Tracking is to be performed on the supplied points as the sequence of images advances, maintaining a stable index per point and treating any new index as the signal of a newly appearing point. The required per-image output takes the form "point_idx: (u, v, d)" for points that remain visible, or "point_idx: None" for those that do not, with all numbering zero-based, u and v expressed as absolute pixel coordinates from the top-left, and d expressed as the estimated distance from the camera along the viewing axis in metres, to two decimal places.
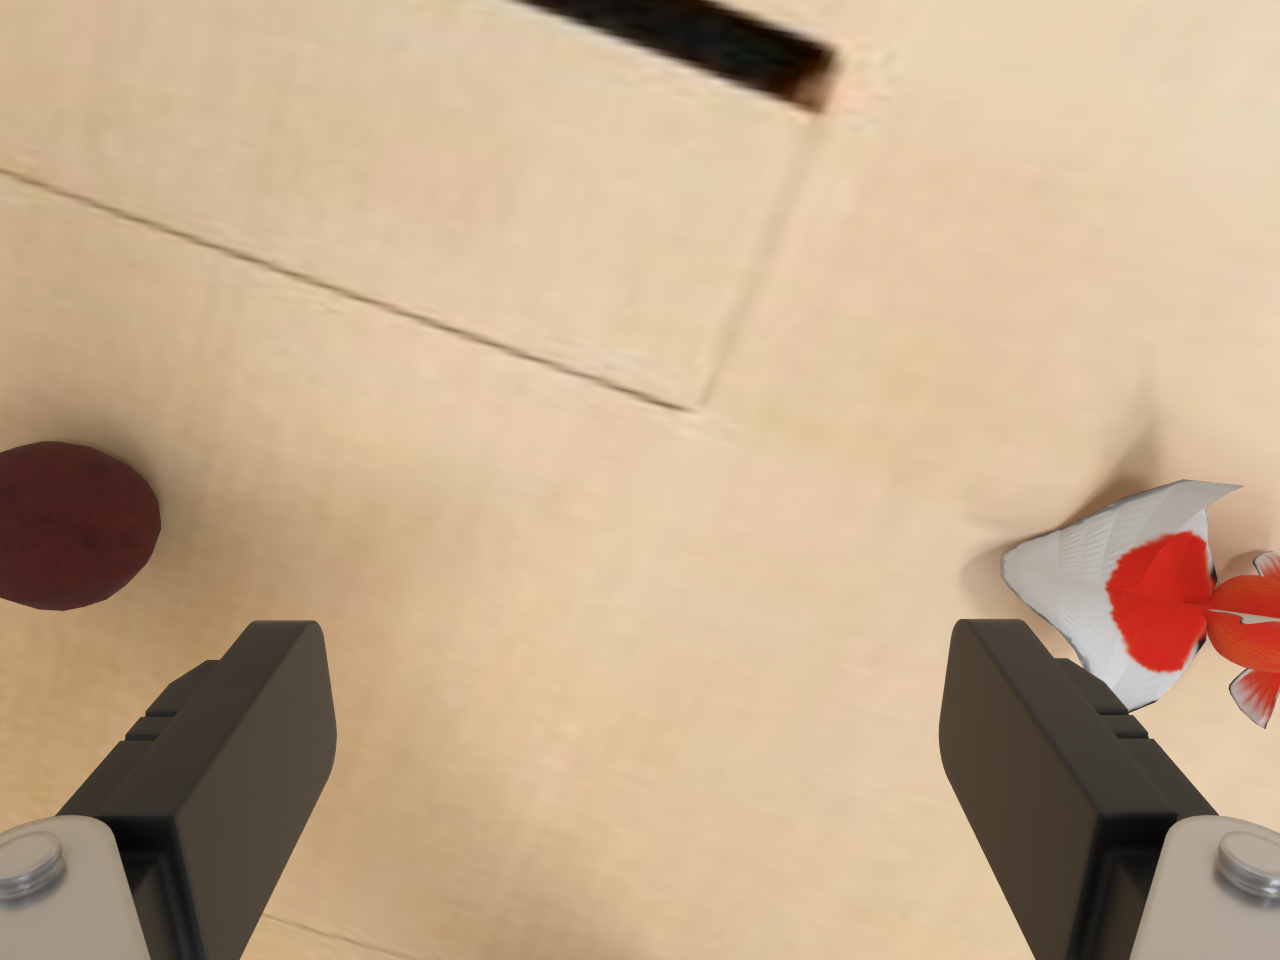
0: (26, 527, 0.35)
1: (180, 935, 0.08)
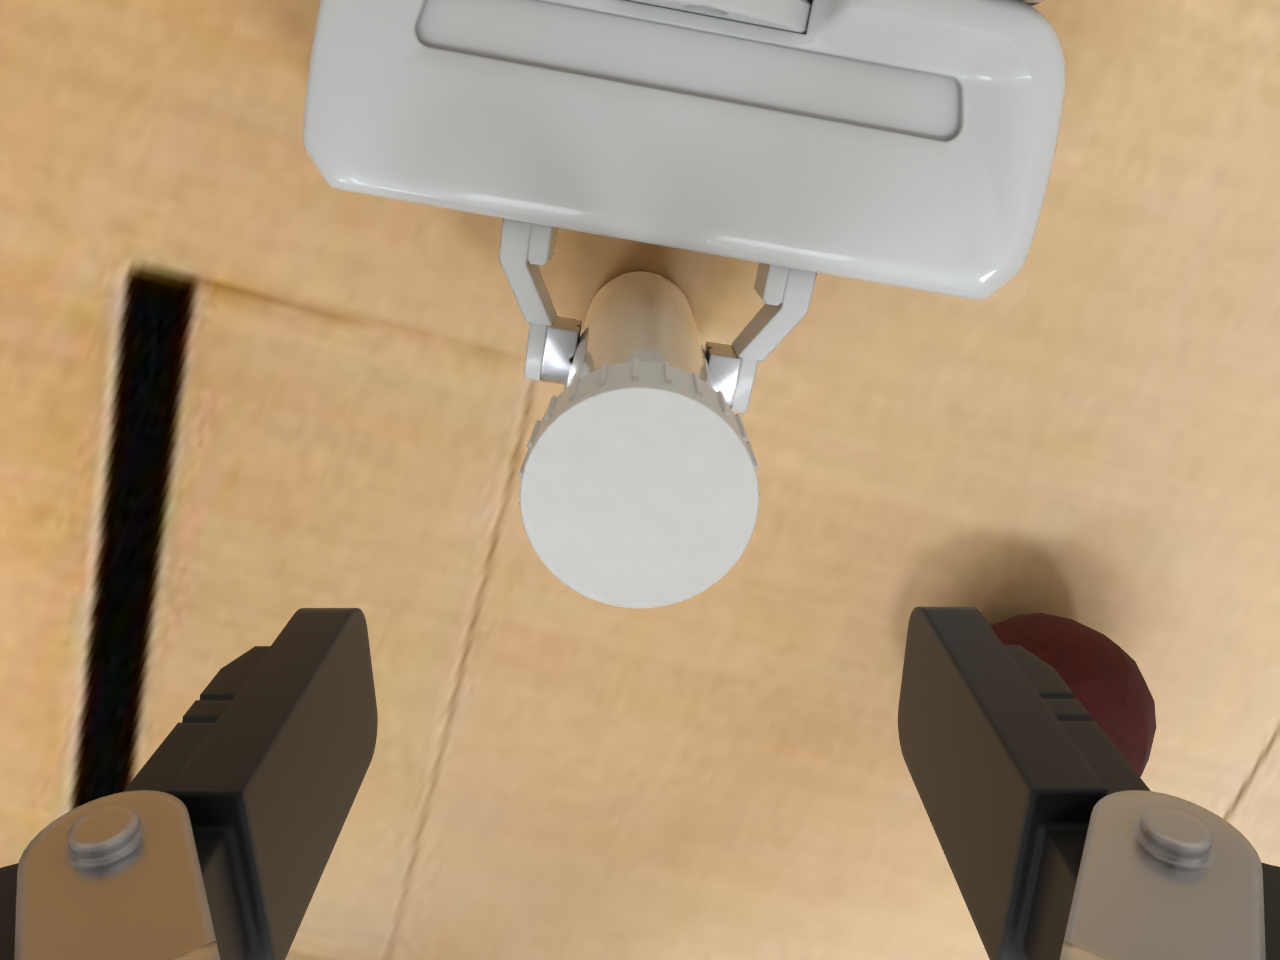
0: None
1: (244, 908, 0.08)
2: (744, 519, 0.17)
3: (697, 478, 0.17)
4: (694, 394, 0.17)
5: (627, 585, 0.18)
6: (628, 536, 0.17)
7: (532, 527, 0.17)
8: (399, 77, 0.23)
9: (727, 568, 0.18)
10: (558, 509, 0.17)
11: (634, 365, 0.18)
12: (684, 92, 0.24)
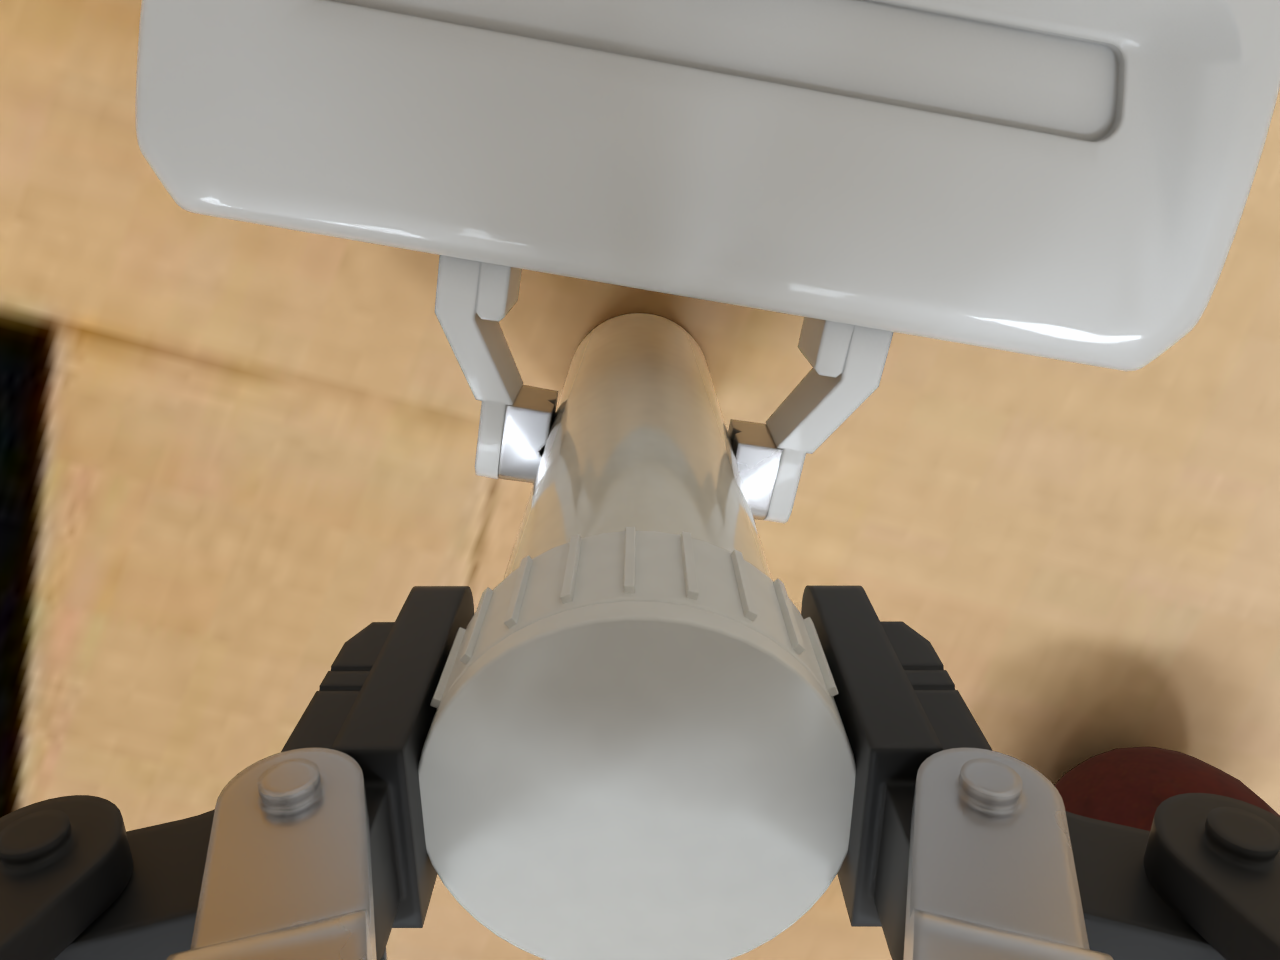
0: None
1: (395, 861, 0.09)
2: (830, 838, 0.09)
3: (746, 774, 0.09)
4: (740, 619, 0.09)
5: (616, 942, 0.10)
6: (618, 866, 0.09)
7: (440, 852, 0.09)
8: (273, 45, 0.15)
9: (797, 916, 0.10)
10: (487, 823, 0.09)
11: (628, 549, 0.10)
12: (705, 68, 0.16)
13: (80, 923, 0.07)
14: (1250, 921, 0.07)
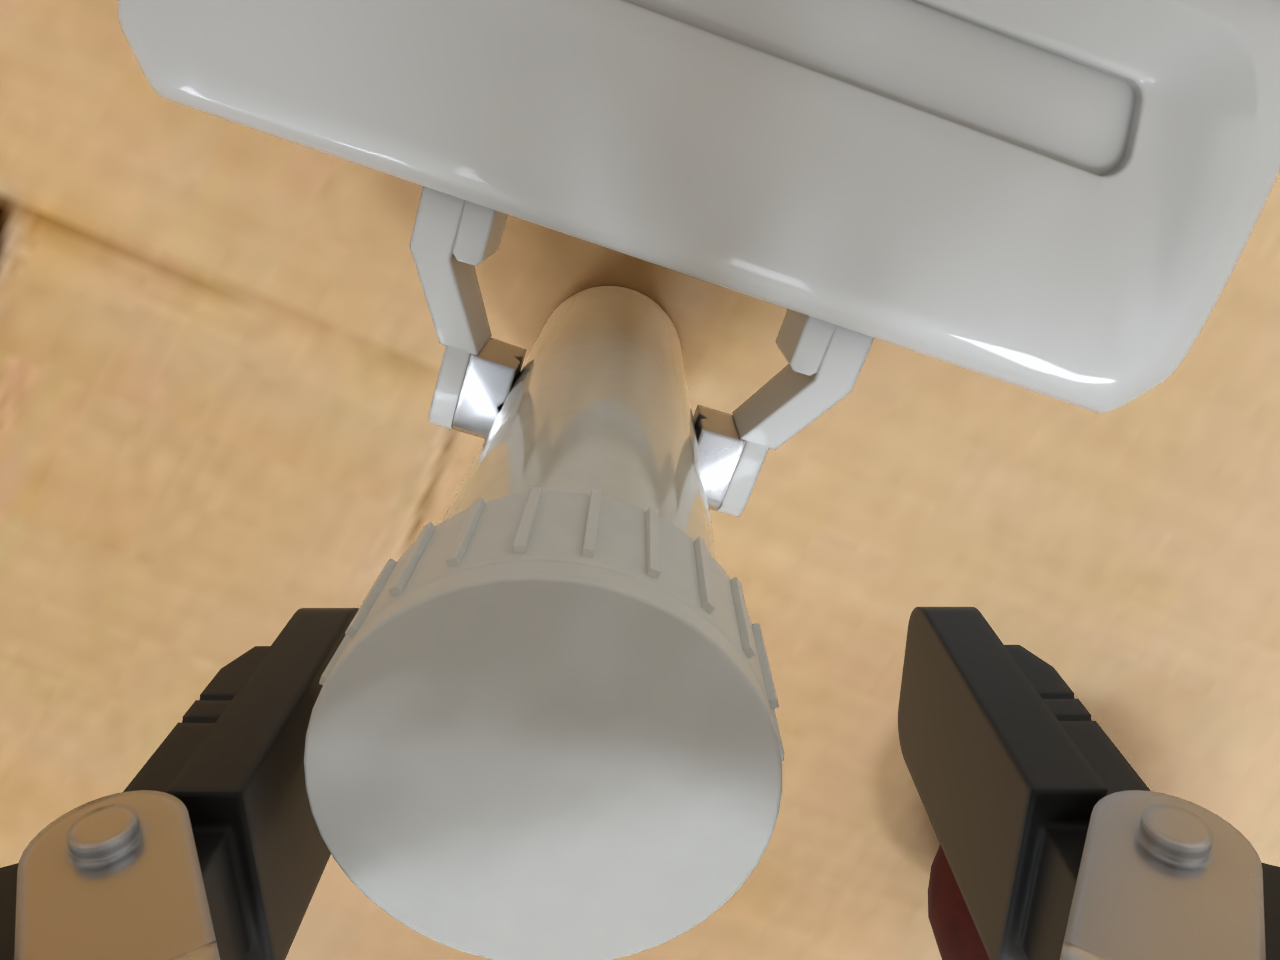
0: None
1: (243, 908, 0.08)
2: (711, 672, 0.08)
3: (576, 688, 0.08)
4: (442, 575, 0.08)
5: (665, 897, 0.09)
6: (585, 842, 0.09)
7: (457, 940, 0.09)
8: None
9: (772, 756, 0.08)
10: (458, 891, 0.09)
11: (371, 589, 0.09)
12: (724, 36, 0.15)
13: None
14: None
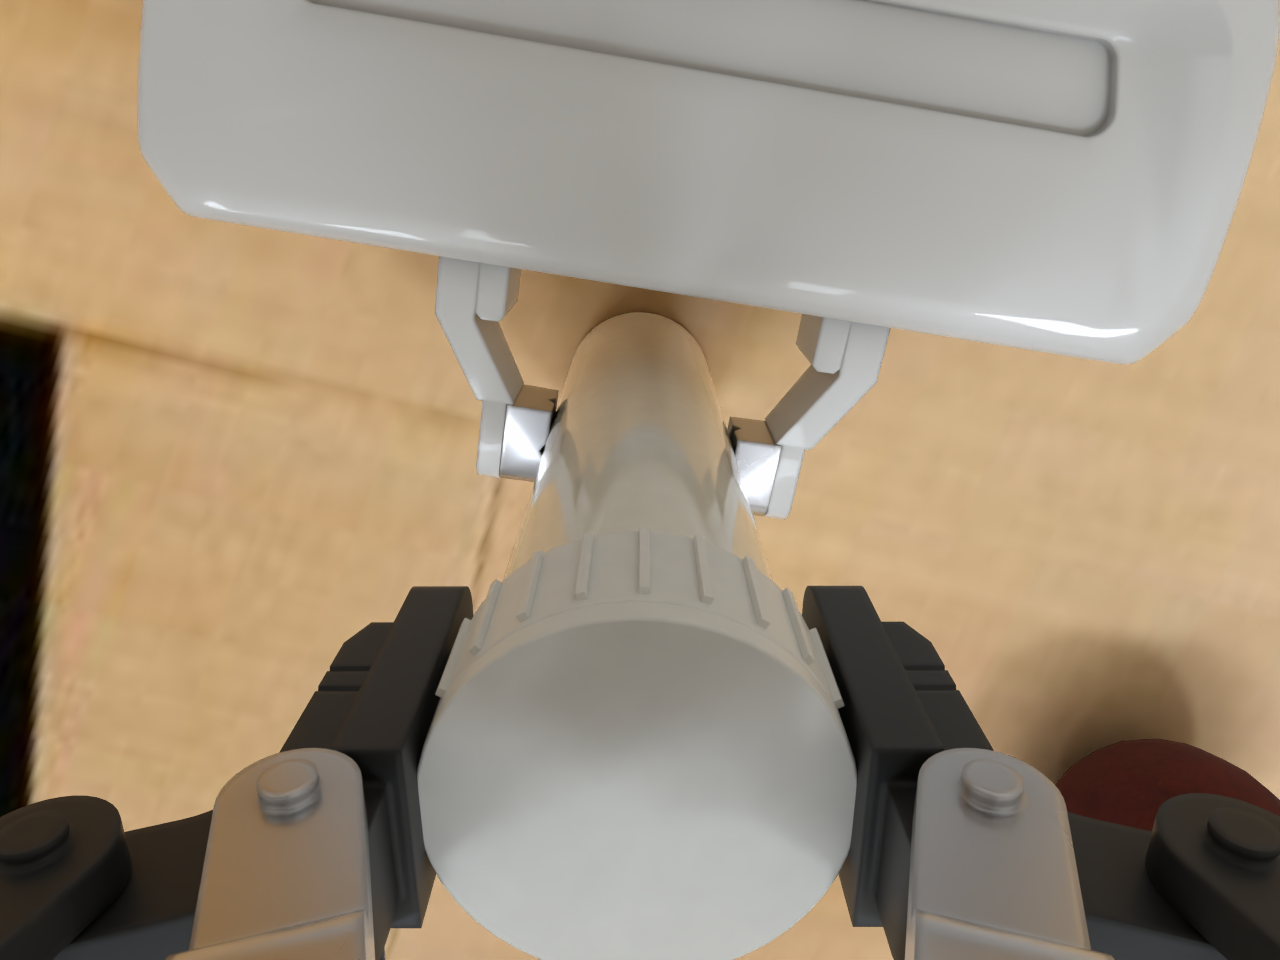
0: None
1: (394, 861, 0.09)
2: (775, 684, 0.09)
3: (652, 716, 0.09)
4: (515, 629, 0.09)
5: (766, 898, 0.10)
6: (683, 856, 0.09)
7: None
8: (273, 49, 0.16)
9: (844, 753, 0.09)
10: (573, 917, 0.10)
11: (452, 649, 0.10)
12: (700, 68, 0.16)
13: (78, 924, 0.07)
14: (1252, 921, 0.07)
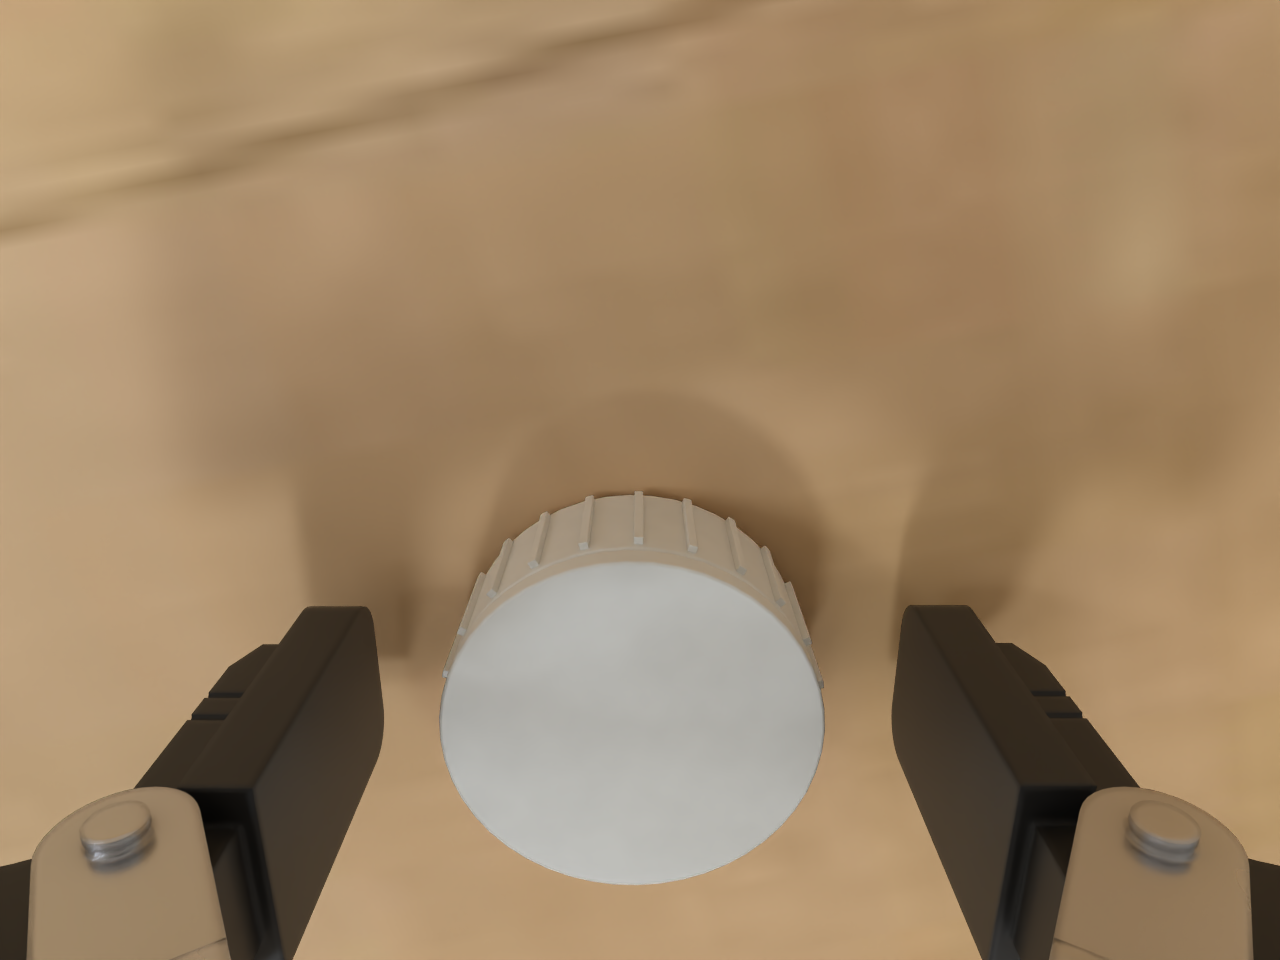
0: None
1: (253, 904, 0.08)
2: (750, 621, 0.10)
3: (645, 649, 0.10)
4: (526, 575, 0.10)
5: (744, 812, 0.11)
6: (672, 774, 0.11)
7: (581, 871, 0.11)
8: None
9: (811, 682, 0.10)
10: (576, 830, 0.11)
11: (470, 597, 0.11)
12: None
13: None
14: None
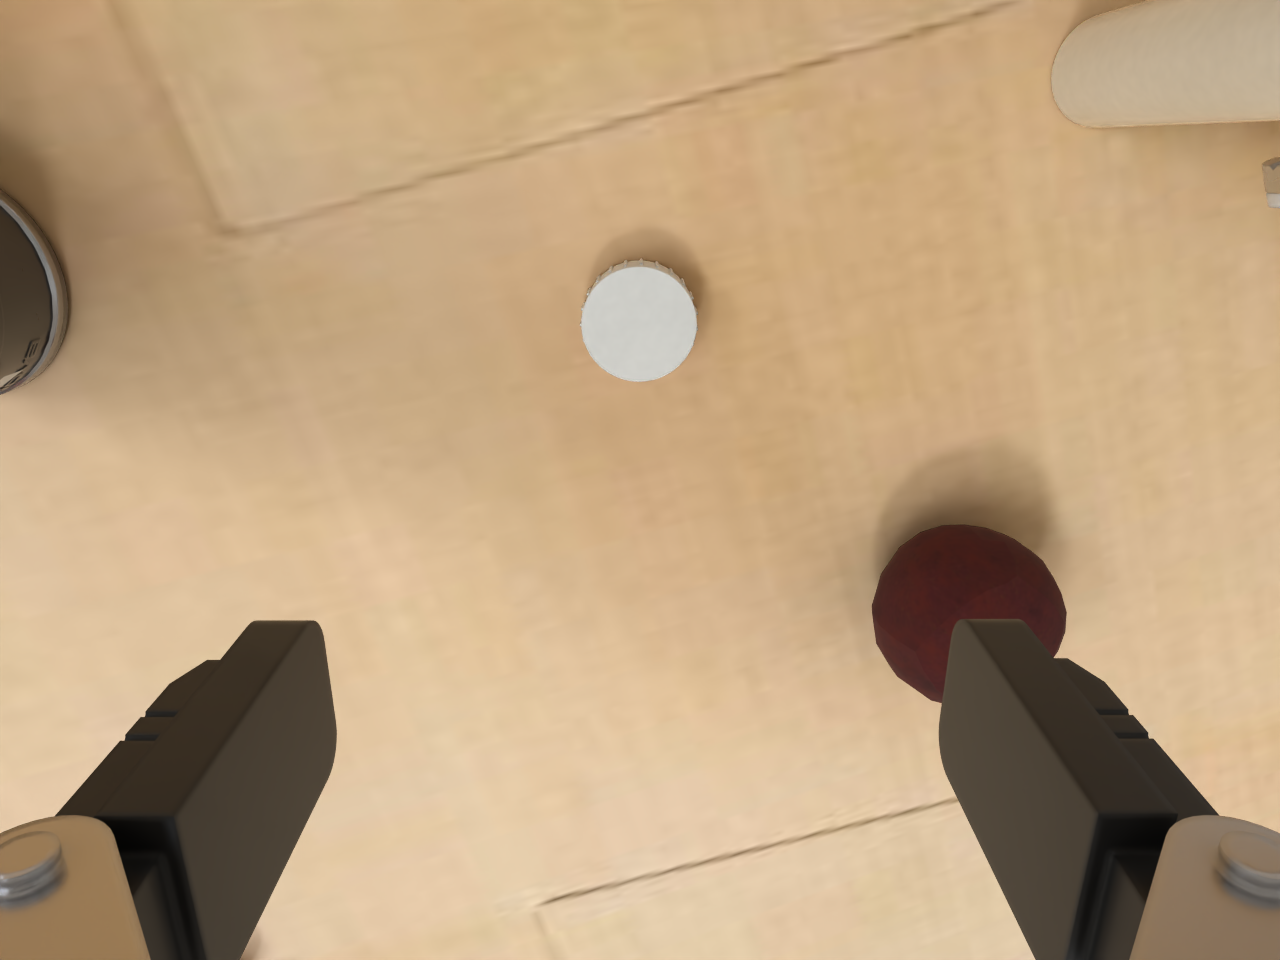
0: None
1: (180, 934, 0.08)
2: (673, 285, 0.35)
3: (643, 295, 0.35)
4: (608, 274, 0.35)
5: (673, 353, 0.36)
6: (651, 339, 0.36)
7: (622, 375, 0.36)
8: None
9: (691, 306, 0.35)
10: (621, 360, 0.36)
11: None
12: None
13: None
14: None
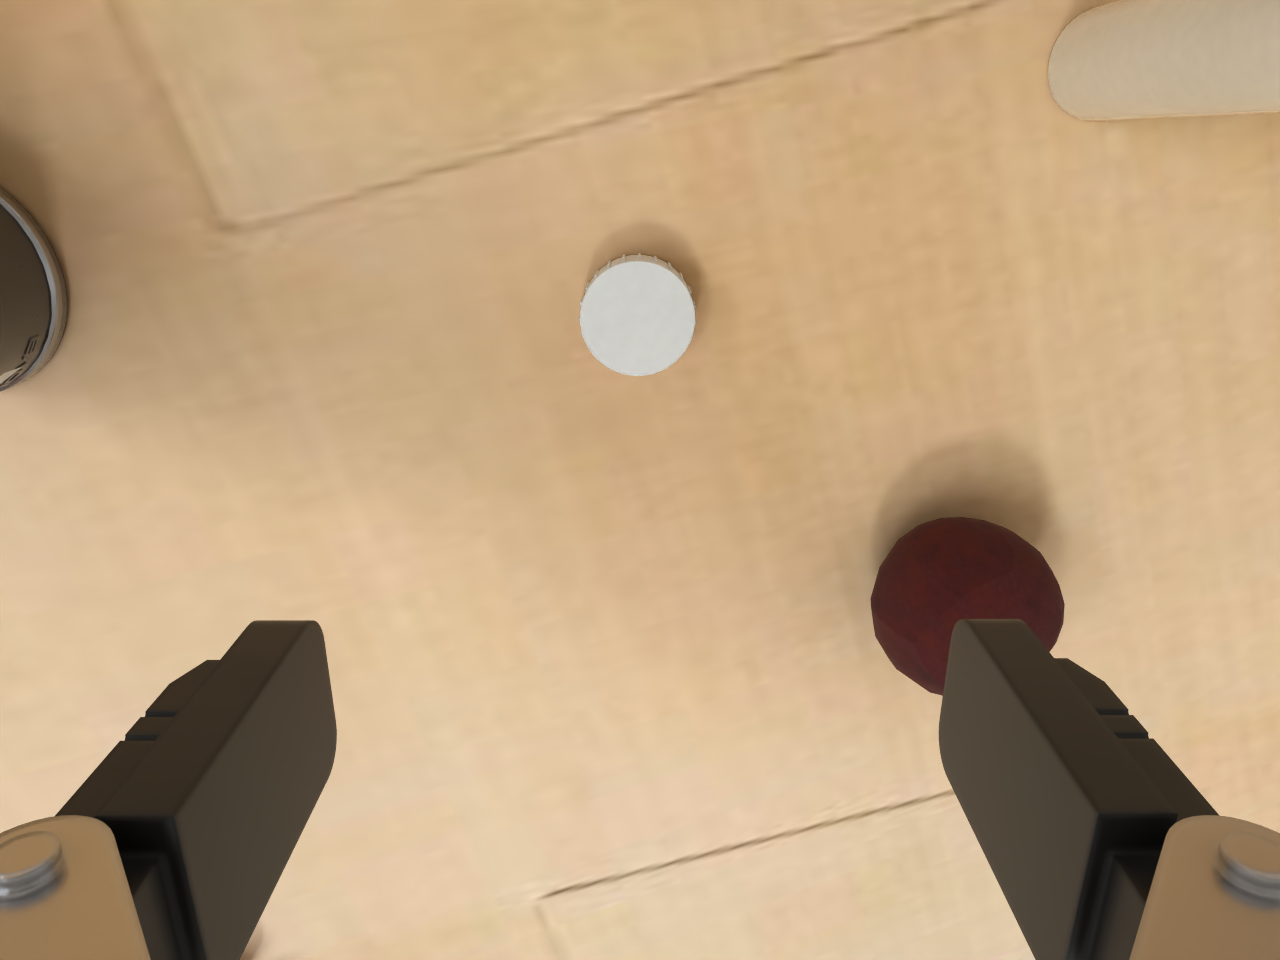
0: None
1: (180, 934, 0.08)
2: (671, 280, 0.35)
3: (641, 289, 0.35)
4: (606, 268, 0.35)
5: (672, 347, 0.36)
6: (649, 333, 0.36)
7: (621, 369, 0.36)
8: None
9: (690, 300, 0.35)
10: (620, 354, 0.36)
11: (586, 285, 0.36)
12: None
13: None
14: None
